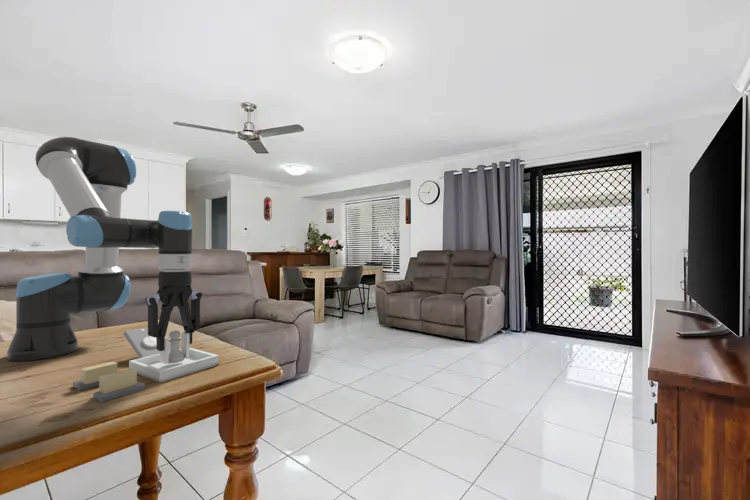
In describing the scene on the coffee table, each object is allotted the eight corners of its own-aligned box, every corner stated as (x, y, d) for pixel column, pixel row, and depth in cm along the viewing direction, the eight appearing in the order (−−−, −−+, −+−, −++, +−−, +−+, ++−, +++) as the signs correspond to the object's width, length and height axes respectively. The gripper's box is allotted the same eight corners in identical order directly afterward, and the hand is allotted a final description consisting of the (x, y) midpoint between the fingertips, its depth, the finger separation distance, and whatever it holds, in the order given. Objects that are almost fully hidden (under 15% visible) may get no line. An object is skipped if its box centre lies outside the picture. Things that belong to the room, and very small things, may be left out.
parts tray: (129, 370, 88) (129, 360, 88) (187, 355, 100) (187, 346, 100) (159, 382, 80) (159, 371, 80) (218, 364, 92) (218, 355, 92)
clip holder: (72, 386, 77) (73, 368, 77) (114, 375, 84) (114, 359, 84) (101, 402, 69) (101, 382, 69) (145, 388, 76) (145, 370, 76)
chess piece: (160, 361, 90) (160, 330, 90) (180, 356, 94) (180, 327, 94) (168, 365, 87) (168, 333, 87) (188, 360, 91) (188, 329, 91)
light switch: (147, 360, 91) (124, 328, 98) (141, 377, 92) (120, 344, 99) (179, 352, 98) (156, 322, 105) (174, 368, 100) (151, 338, 106)
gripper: (145, 272, 81) (144, 372, 81) (215, 269, 96) (214, 353, 96) (130, 271, 85) (129, 366, 85) (199, 268, 100) (199, 349, 100)
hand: (174, 359), depth 90 cm, fingers closed on chess piece, 5 cm apart
